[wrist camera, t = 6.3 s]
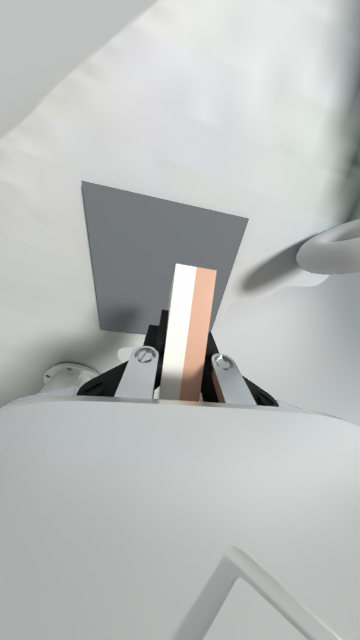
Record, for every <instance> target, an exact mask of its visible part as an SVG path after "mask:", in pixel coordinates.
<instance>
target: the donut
mask: <svg viewBox="0 0 360 640" xmlns="http://www.w3.org/2000/svg"><path fill="white" fill-rule="evenodd" d="M296 261H297V263H298V265H299V266H300V268H301V269H303V270H306V271H308V272H311V273H316V274H346V273H355V272H360V219H358V220H355V221H351V222H348V223H345V224H342V225H339V226H336V227H333V228H331V229H328V230H326V231H324V232H321V233H319V234H318V235H316V236H314V237H312V238H311V239H309V240H308V241H306V242H305V243H304V244H303V245H302V246H301V247H300V249H299V251H298V253H297V255H296Z"/></svg>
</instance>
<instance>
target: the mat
mask: <svg viewBox="0 0 360 640" xmlns="http://www.w3.org/2000/svg"><path fill="white" fill-rule="evenodd" d="M82 188H83V196H84V203H85V211H86V219H87V227H88V234H89V242H90V250H91V257H92V265H93V273H94V280H95V288H96V296H97V304H98V311H99V319H100V327H101V330H109V331H118V332H127V333H136V334H145V335H146V334H147V331H148V327H149V325H158V326H159V323H160V318H161V312H162V309H163V310H168V303H169V296H170V289H171V284H172V280H173V275H174V270H175V266H176V264H182V265H188V266H193V267H199V268H205V269H211V270H217V272H216V279H215V287H214V294H213V302H212V309H211V316H210V324H209V331H208V332H211V330H212V327H213V324H214V321H215V318H216V315H217V312H218V309H219V306H220V303H221V300H222V297H223V294H224V291H225V288H226V285H227V282H228V279H229V276H230V273H231V270H232V267H233V264H234V261H235V258H236V255H237V252H238V249H239V246H240V243H241V240H242V238H243V235H244V232H245V229H246V226H247V223H248V220H249V219H248V218H243V217H239V216H235V215H230V214H226V213H221V212H217V211H213V210H208V209H204V208H199V207H195V206H191V205H186V204H182V203H177V202H173V201H168V200H164V199H160V198H155V197H151V196H146V195H142V194H138V193H133V192H129V191H124V190H120V189H116V188H111V187H107V186H102V185H98V184H93V183H89V182H85V181H82Z"/></svg>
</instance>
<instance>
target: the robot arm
mask: <svg viewBox="0 0 360 640" xmlns="http://www.w3.org/2000/svg"><path fill="white" fill-rule="evenodd" d="M167 321H168V310H163V309H162V312H161V318H160V323H159V326H158V325H149V327H148V331H147V334H146V338H145V341H144V345H143V346H141V347H138V348H136V349H135V350H134V351H133V352H132V354H131V356H130V359H129V361H127V362H125V363H123V364H121V365H119V366H117V367H115V368H113V369H111V370H109V371H107V372H105V373H103V374H101V375H100V374H99V373H97V372H96V371H94V370H93V369H91V368H89V367H86V366H84V365H80V364H75V363H61V364H57V365H54V366H52V367H51V368H49V369H48V370H47V371H46V373H45V374H44V377H43V381H44V384H45V386H44V387H43V388H42V389H41V390H40V391H39V393H38V394H34V395H29V396H25V397H21V398H18V399H15V400H13V401H11V402H9V403H7V404H5V405H4V406H3V407H0V640H360V426H358V425H356V424H354V423H351V422H349V421H347V420H344V419H342V418H339V417H335V416H332V415H329V414H325V413H321V412H316V411H311V410H304V409H300V408H298V407H295V406H293V405H290V404H287V403H285V402H282V401H279V400H274V398H273V397H272V396H271V395H269V394H268V393H267V392H265V391H264V390H262V389H261V388H259V387H258V386H257V385H255V384H254V383H252V382H251V381H249V380H248V379H246V378H245V377H243V376H242V375H241V373H240V371H239V369H238V367H237V365H236V364H235V362H234V361H233V360H232V359H231V358H230V357H228V356H227V355H224V354H219V352H218V349H217V346H216V344H215V341H214V339H213V336H212V334H211V332H208V339H207V346H206V354H205V361H204V368H203V376H202V383H201V391H200V398H199V399H200V402H197V401H180V400H163V399H153V396H154V390H155V389H156V388H158V387H159V386H160V381H161V375H162V368H163V359H164V351H165V344H166V333H167Z"/></svg>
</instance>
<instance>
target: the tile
mask: <svg viewBox="0 0 360 640" xmlns="http://www.w3.org/2000/svg"><path fill="white" fill-rule="evenodd" d="M216 272H217V270H211V269H205V268H199V267H193V266H188V265H182V264H176V266H175V270H174V275H173V280H172V284H171V289H170V296H169V303H168V321H167V333H166V344H165V351H164V359H163V368H162V375H161V381H160V386H159V387H158V397H157V399H163V400H180V401H197V402H199V398H200V391H201V383H202V376H203V368H204V361H205V354H206V346H207V339H208V331H209V324H210V316H211V309H212V302H213V294H214V287H215V279H216Z"/></svg>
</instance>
